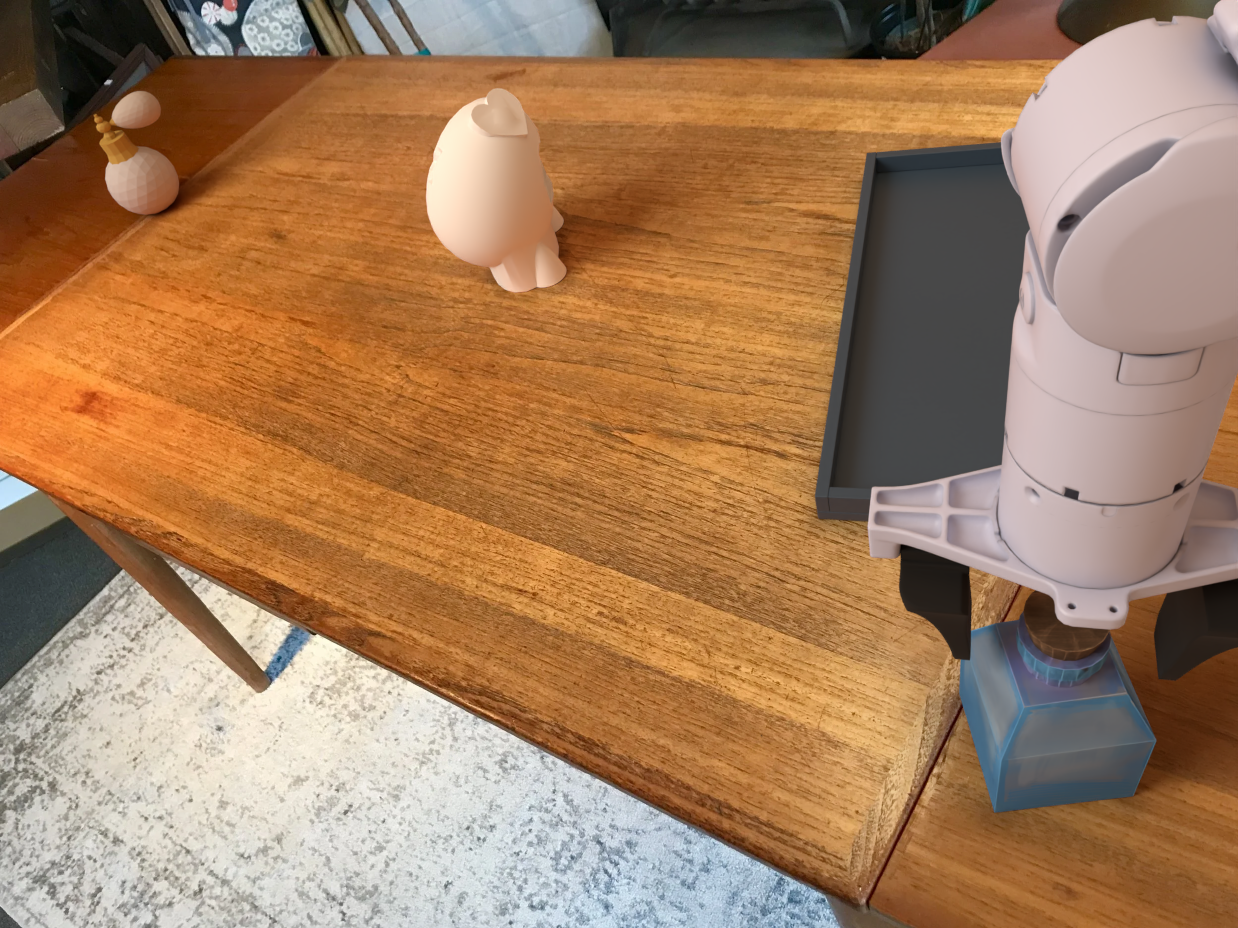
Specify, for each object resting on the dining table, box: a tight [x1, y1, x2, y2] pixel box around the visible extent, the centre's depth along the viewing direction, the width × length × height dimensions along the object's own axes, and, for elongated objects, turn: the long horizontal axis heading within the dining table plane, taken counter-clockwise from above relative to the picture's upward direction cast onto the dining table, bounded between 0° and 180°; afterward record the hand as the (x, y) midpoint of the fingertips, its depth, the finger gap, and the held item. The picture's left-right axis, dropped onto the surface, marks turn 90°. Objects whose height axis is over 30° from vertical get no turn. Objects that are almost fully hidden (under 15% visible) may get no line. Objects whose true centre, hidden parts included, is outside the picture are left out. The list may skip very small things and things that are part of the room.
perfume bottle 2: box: [958, 590, 1157, 814], centre depth 41 cm, size 6×6×12 cm
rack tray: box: [814, 141, 1030, 522], centre depth 64 cm, size 16×36×2 cm, turn 165°
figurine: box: [425, 87, 567, 293], centre depth 78 cm, size 11×11×15 cm
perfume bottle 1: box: [93, 90, 180, 216], centre depth 104 cm, size 8×10×12 cm
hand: (1060, 648), depth 39 cm, fingers open, 7 cm apart
